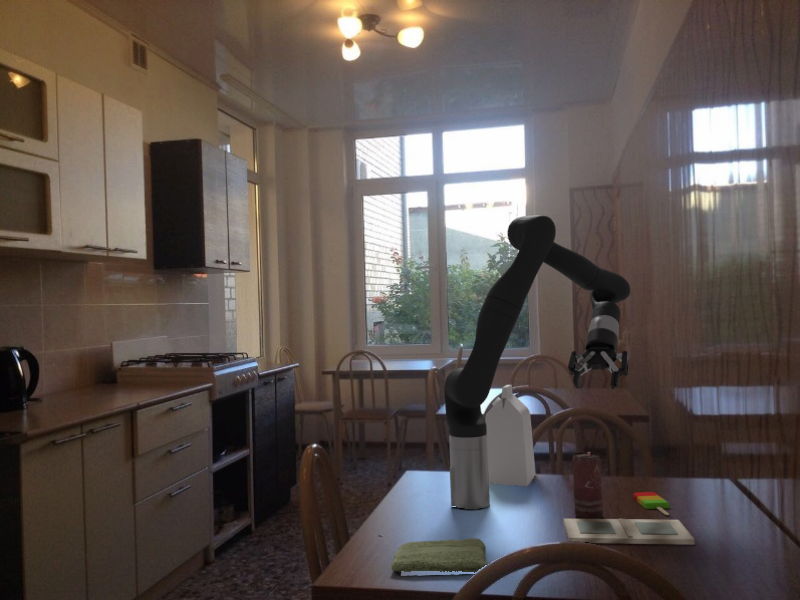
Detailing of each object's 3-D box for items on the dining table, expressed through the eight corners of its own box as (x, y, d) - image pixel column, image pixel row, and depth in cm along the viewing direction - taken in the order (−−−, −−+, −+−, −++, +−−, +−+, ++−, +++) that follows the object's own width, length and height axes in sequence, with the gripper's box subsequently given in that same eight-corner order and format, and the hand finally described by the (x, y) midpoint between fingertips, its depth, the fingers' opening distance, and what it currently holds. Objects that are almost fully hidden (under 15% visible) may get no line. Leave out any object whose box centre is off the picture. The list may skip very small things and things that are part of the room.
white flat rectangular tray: (569, 542, 131) (568, 536, 131) (563, 523, 143) (563, 517, 143) (694, 544, 128) (694, 537, 128) (678, 524, 139) (678, 518, 140)
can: (603, 512, 149) (600, 451, 149) (602, 521, 143) (599, 457, 143) (576, 511, 151) (573, 450, 151) (574, 519, 145) (571, 456, 145)
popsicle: (654, 499, 160) (654, 491, 160) (680, 518, 145) (679, 509, 145) (632, 499, 160) (631, 492, 160) (655, 519, 145) (655, 510, 145)
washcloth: (397, 552, 131) (396, 536, 131) (485, 552, 129) (485, 535, 129) (390, 580, 118) (390, 562, 118) (489, 579, 116) (488, 561, 116)
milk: (527, 486, 174) (523, 388, 174) (485, 483, 178) (481, 388, 178) (535, 475, 185) (531, 383, 185) (495, 472, 189) (492, 383, 190)
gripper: (572, 327, 169) (562, 376, 159) (629, 326, 162) (622, 377, 152) (578, 346, 174) (568, 395, 163) (633, 346, 167) (627, 396, 157)
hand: (594, 386), depth 158 cm, fingers open, 8 cm apart
